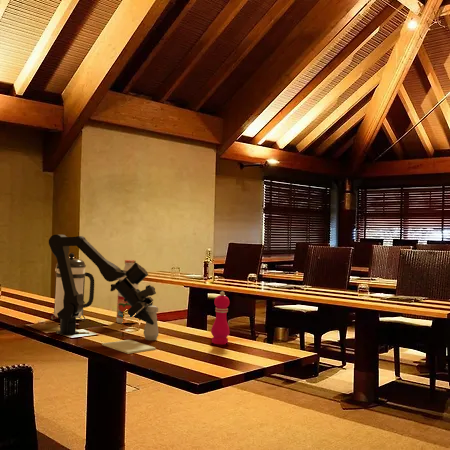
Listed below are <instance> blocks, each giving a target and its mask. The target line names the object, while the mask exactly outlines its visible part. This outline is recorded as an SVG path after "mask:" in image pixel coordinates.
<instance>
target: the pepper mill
mask: <svg viewBox="0 0 450 450" xmlns="http://www.w3.org/2000/svg"><path fill="white" fill-rule="evenodd" d="M213 301H214V303H213V304H214V306H215V308H214V309H215V310H214V312H215V318H214V322H213V324H212V326H211V329H210V330H211V331H210V333H211V335H212V338H211V343H212V344H214V345H227V344H228V343H229V338H228V336H229V335H230V332H231V331H230V326H229V324H228V319H227V313H228V312H229V308H228V307H230V303H231V302H230V299H229V297H228V296H226V294H225V291H220V292H219V295H217V296H216V297H215V298H214V300H213ZM226 343H227V344H226Z"/></svg>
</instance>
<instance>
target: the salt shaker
mask: <svg viewBox="0 0 450 450" xmlns="http://www.w3.org/2000/svg"><path fill="white" fill-rule="evenodd" d="M158 311H159V308H158V306H156V305H152V306H148V307H147V312H148V314H149V315H150V317H151V319H152V320H153V322H154V324H153V325H151V324H149V323H147V322H145V326H144V329H143V336H144V339H145V340H146V341H157V339H158V336H159V326H158V321H157V319H158V316H157V315H158V314H157V313H158Z"/></svg>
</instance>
